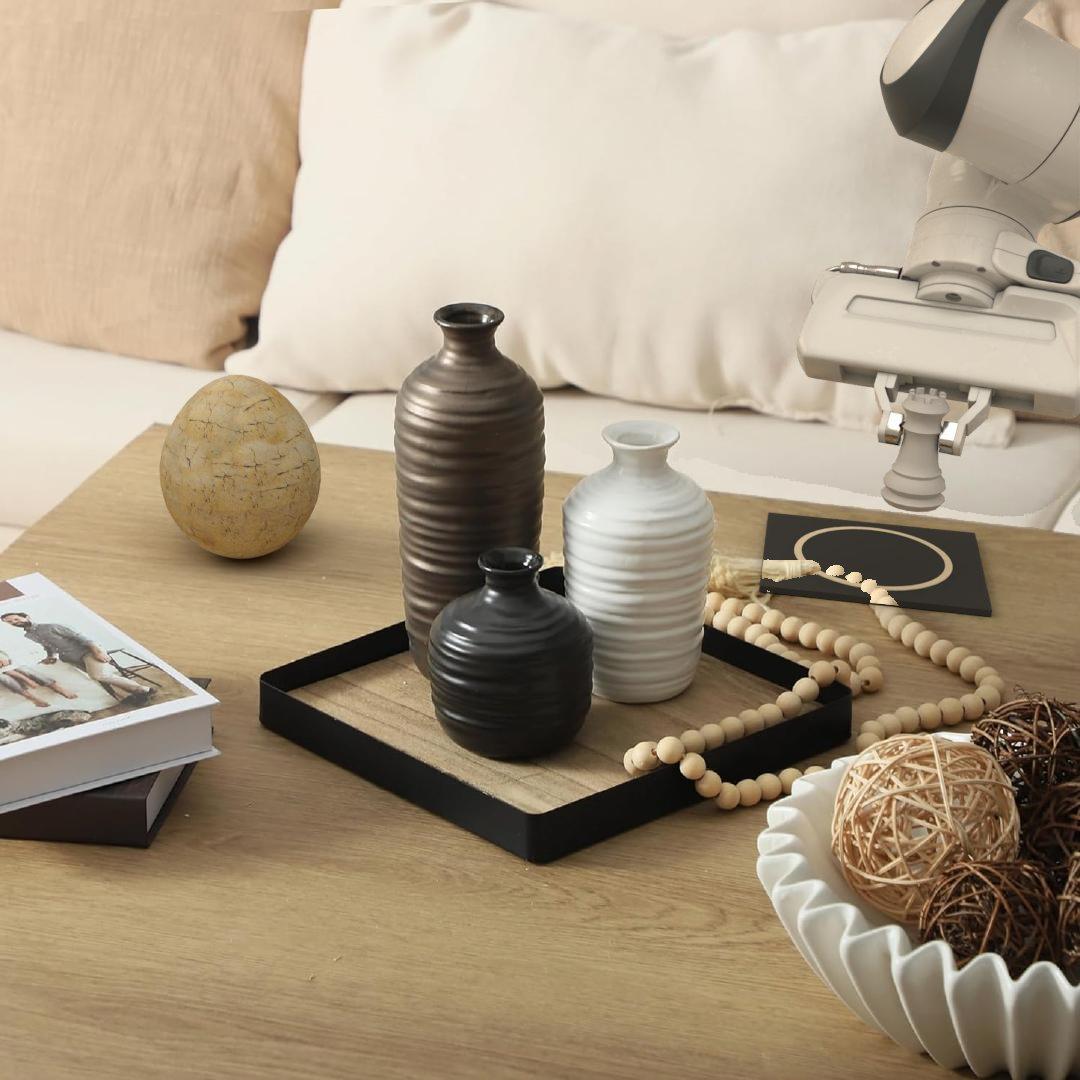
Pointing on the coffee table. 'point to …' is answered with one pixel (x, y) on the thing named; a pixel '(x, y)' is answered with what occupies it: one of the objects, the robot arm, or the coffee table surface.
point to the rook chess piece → (918, 455)
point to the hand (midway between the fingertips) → (919, 446)
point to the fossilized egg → (240, 468)
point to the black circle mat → (880, 562)
